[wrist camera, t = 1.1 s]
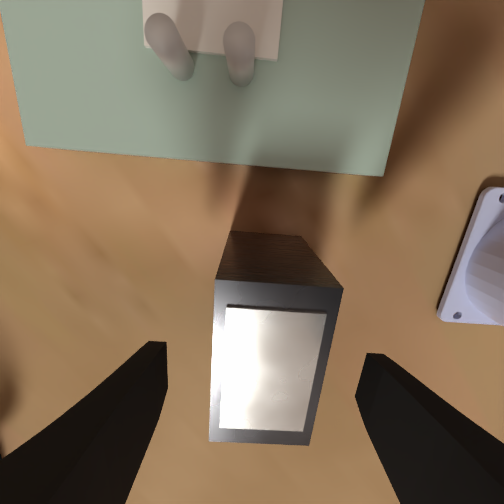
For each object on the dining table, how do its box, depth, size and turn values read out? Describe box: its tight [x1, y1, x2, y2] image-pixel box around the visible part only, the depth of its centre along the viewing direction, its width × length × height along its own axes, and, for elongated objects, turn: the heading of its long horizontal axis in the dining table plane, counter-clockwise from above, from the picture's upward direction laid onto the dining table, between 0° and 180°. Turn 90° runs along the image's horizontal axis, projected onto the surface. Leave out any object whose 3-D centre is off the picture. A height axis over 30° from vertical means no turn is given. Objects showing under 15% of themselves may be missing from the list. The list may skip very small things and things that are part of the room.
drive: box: [209, 231, 344, 446], centre depth 12 cm, size 4×7×7 cm, turn 175°
